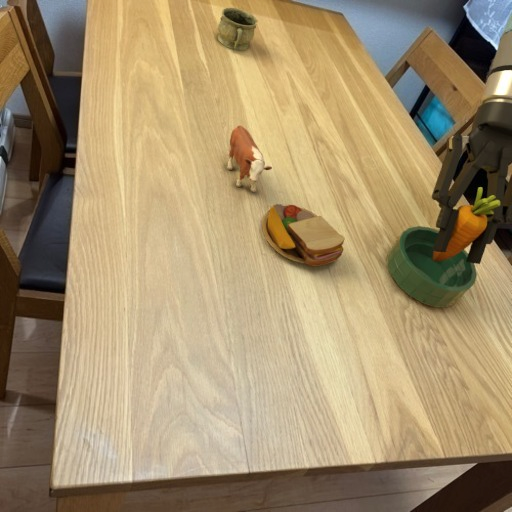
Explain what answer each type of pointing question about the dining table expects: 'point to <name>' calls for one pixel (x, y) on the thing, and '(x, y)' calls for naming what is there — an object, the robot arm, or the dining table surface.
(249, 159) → the bull figurine
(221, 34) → the vessel
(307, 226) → the toy sandwich meal
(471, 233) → the carrot
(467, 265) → the bowl
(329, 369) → the dining table surface
